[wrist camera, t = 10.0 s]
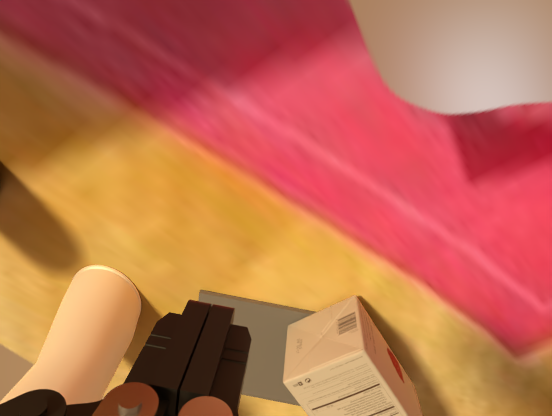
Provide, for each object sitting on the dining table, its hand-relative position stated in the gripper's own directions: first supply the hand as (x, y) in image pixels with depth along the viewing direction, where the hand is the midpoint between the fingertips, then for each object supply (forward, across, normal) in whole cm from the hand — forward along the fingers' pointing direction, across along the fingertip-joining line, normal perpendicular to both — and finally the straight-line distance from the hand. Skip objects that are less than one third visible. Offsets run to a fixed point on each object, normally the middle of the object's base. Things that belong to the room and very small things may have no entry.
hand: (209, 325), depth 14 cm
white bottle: (+29, +16, +25) cm, 42 cm away
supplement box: (+24, -8, +19) cm, 31 cm away
